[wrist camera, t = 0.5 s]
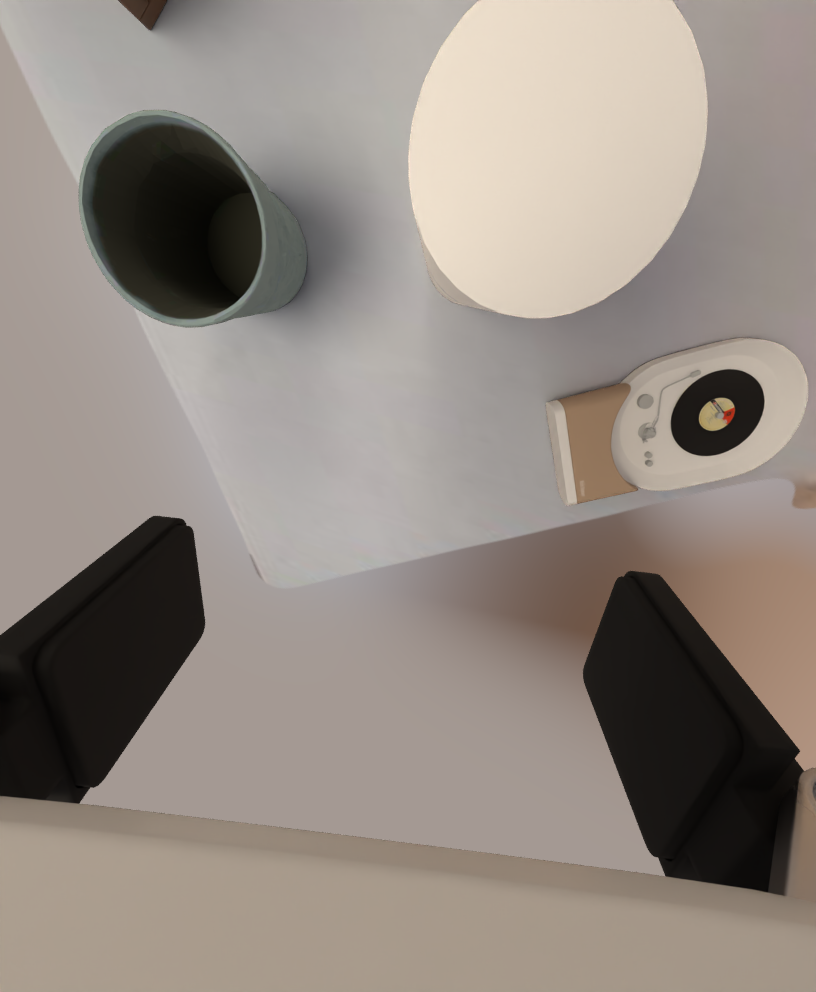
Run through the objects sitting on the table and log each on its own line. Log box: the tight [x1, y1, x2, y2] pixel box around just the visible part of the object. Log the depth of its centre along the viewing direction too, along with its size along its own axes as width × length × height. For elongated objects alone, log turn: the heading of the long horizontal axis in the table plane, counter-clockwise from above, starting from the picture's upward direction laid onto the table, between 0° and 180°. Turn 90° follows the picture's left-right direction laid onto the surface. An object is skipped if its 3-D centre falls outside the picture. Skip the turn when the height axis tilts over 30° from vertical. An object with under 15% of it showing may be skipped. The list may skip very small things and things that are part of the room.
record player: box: [546, 338, 808, 506], centre depth 36 cm, size 12×3×20 cm
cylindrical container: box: [409, 0, 708, 318], centre depth 22 cm, size 7×7×25 cm
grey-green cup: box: [79, 110, 307, 327], centre depth 29 cm, size 10×10×12 cm
